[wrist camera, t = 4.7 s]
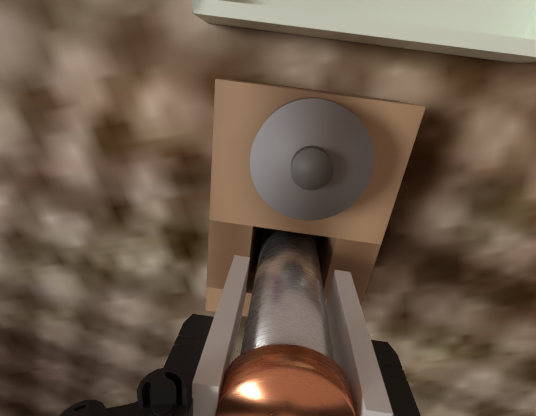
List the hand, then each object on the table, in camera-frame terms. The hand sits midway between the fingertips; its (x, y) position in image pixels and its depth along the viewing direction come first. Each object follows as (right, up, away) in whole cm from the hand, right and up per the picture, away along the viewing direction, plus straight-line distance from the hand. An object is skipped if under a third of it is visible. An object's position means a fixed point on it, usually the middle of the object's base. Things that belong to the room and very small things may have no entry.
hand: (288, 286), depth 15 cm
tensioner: (+1, +5, +4) cm, 6 cm away
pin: (0, +2, +5) cm, 6 cm away
